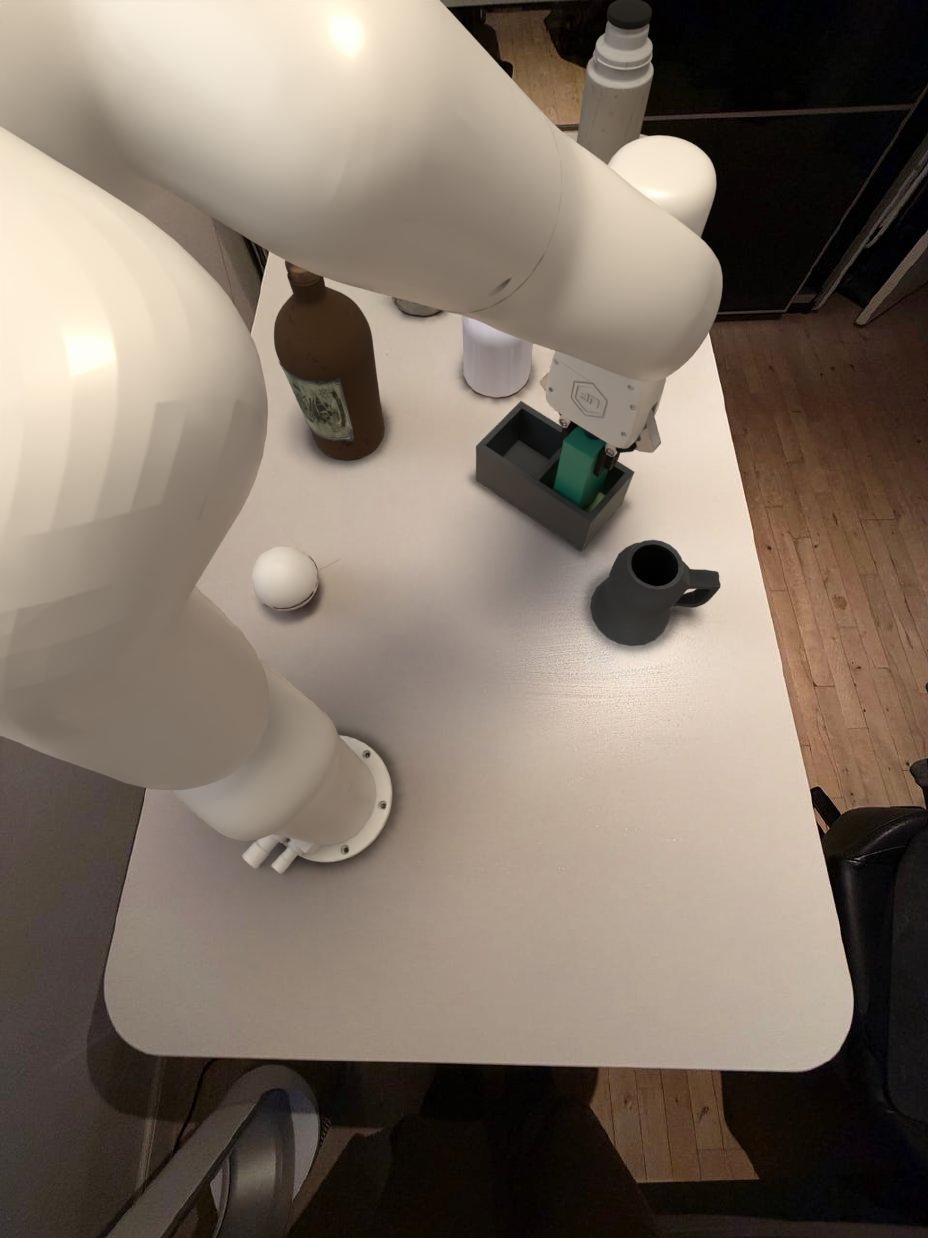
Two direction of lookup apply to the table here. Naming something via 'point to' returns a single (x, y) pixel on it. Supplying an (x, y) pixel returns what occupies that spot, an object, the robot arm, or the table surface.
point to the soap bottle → (494, 359)
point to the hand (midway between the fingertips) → (587, 455)
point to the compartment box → (543, 476)
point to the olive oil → (330, 366)
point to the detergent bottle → (579, 468)
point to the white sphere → (285, 578)
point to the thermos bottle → (617, 81)
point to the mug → (647, 592)
